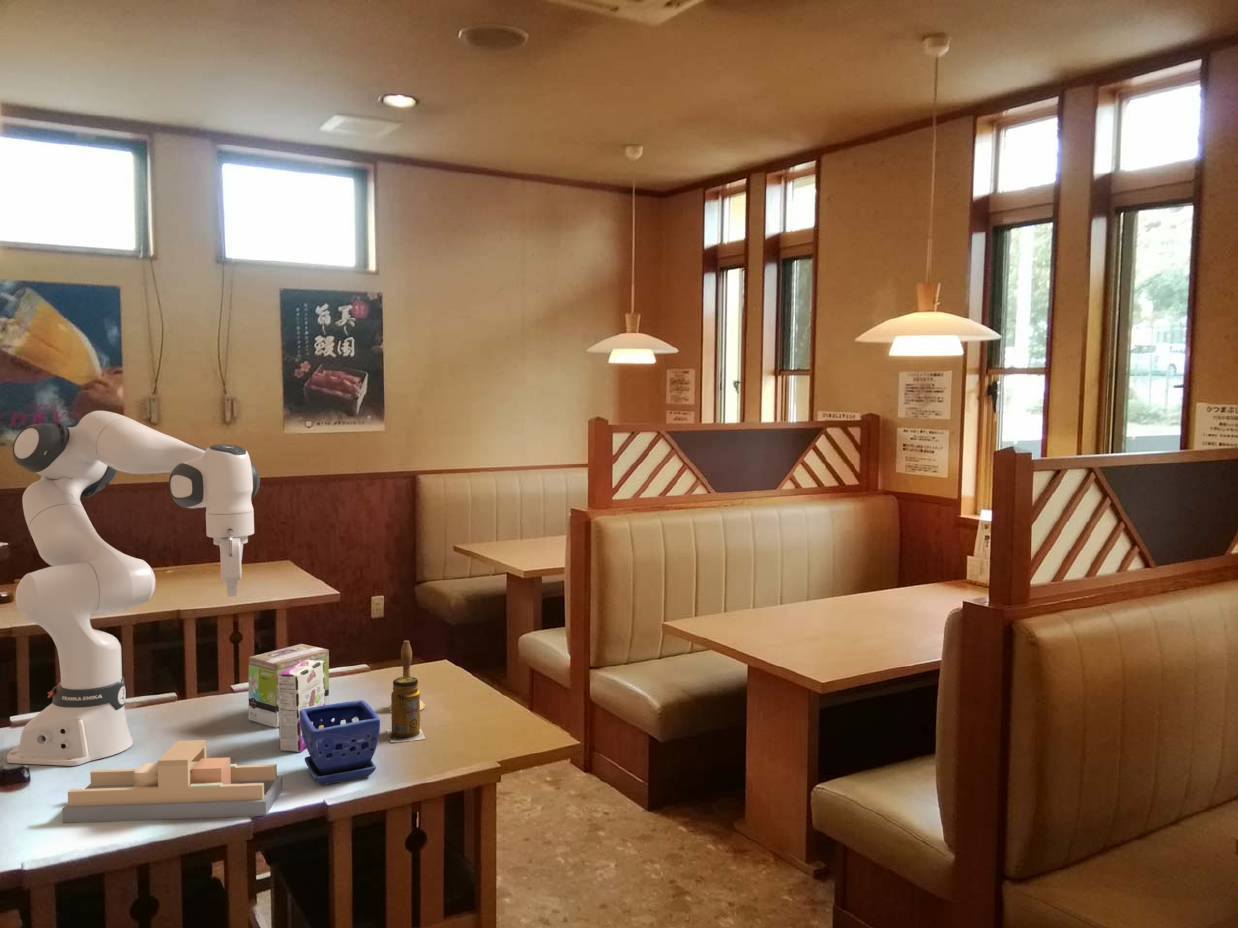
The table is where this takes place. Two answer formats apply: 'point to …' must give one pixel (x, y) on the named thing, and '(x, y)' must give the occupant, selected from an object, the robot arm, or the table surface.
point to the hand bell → (407, 664)
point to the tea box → (265, 679)
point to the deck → (174, 791)
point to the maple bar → (151, 775)
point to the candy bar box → (298, 700)
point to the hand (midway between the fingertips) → (232, 595)
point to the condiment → (405, 711)
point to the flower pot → (340, 741)
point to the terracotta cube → (212, 771)
